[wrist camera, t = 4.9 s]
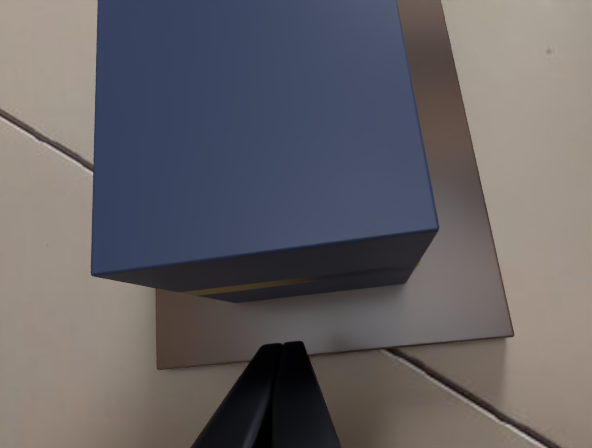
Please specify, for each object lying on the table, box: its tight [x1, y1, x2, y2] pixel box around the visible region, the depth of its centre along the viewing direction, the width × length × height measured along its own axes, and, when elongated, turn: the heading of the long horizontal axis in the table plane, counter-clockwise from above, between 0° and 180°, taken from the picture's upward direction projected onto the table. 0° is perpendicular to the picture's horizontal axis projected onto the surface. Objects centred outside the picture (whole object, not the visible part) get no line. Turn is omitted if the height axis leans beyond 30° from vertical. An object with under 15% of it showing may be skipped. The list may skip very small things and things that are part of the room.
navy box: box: [91, 0, 440, 303], centre depth 12 cm, size 10×6×8 cm, turn 5°
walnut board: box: [156, 0, 514, 370], centre depth 17 cm, size 22×12×1 cm, turn 5°
